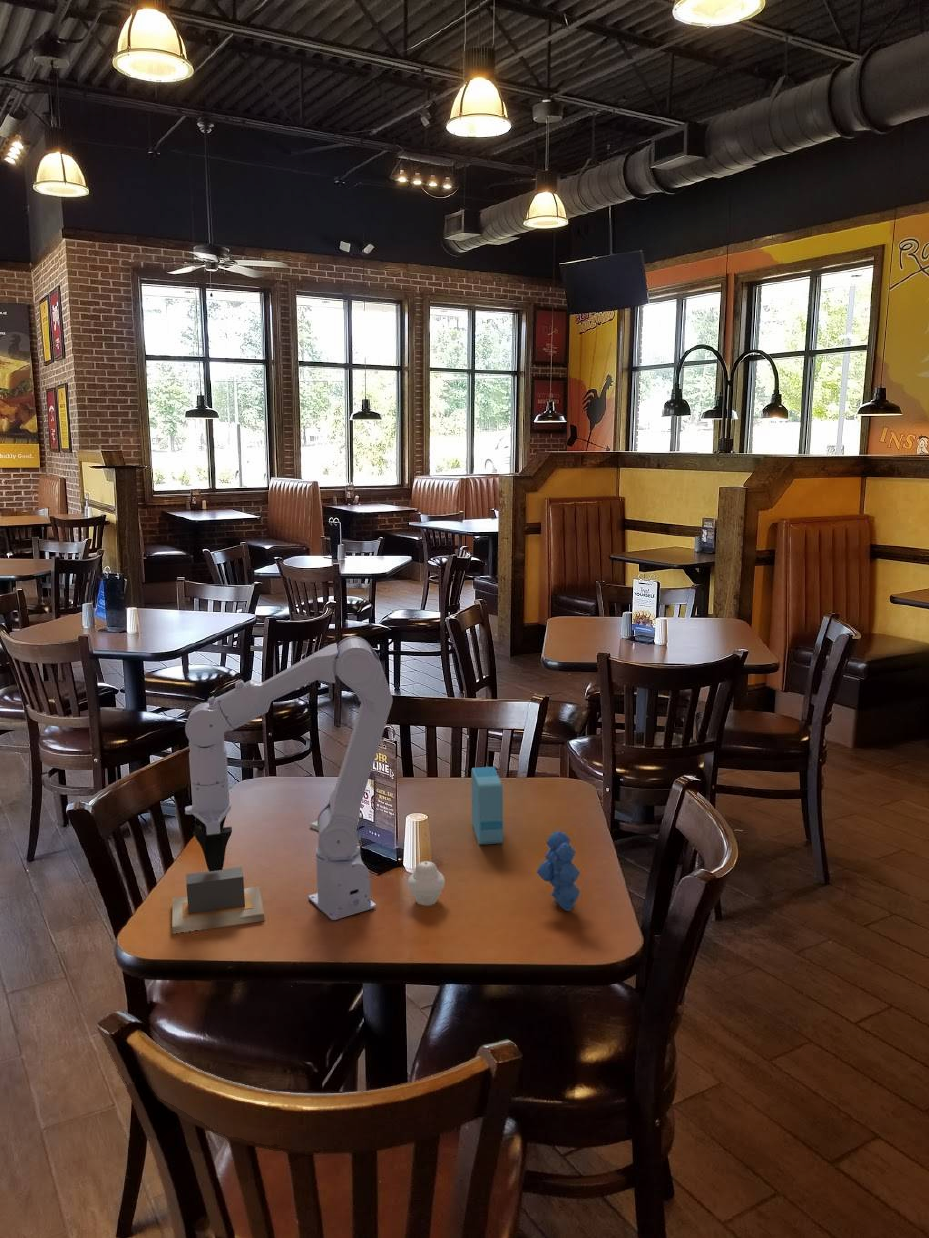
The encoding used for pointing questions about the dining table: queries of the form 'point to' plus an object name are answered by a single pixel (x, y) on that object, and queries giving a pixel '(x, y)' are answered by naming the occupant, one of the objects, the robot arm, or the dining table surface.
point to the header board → (217, 914)
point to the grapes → (560, 870)
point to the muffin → (426, 883)
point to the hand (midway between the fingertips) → (214, 859)
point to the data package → (487, 805)
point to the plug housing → (215, 890)
